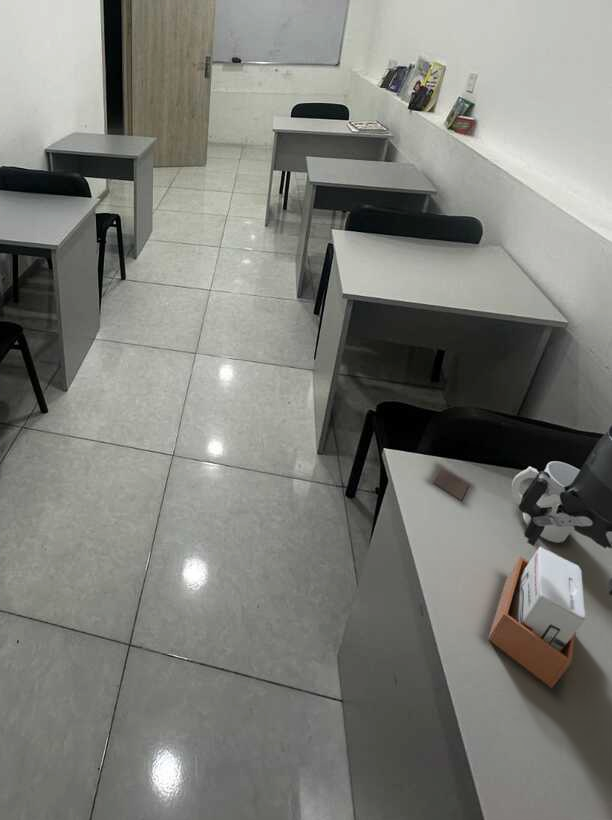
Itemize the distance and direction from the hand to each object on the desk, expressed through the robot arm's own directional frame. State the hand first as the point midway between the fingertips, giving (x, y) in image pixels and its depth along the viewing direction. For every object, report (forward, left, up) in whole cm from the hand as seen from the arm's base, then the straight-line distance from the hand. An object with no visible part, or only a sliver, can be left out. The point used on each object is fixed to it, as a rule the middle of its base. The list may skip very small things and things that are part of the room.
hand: (569, 564), depth 63 cm
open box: (0, 0, -15) cm, 15 cm away
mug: (+2, -22, -15) cm, 27 cm away
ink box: (0, 0, -15) cm, 15 cm away
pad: (+15, -19, -15) cm, 28 cm away
